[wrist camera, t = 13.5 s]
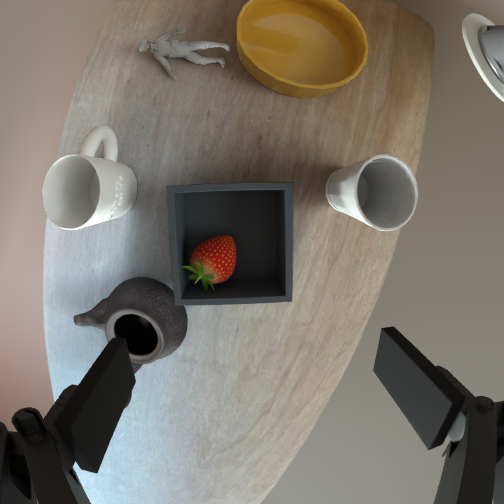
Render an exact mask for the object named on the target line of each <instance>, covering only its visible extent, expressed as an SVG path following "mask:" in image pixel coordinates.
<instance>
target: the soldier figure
mask: <svg viewBox="0 0 504 504" xmlns="http://www.w3.org/2000/svg"><path fill="white" fill-rule="evenodd" d="M183 30H184V31H183ZM182 31H183V32H182ZM185 31H186V29H184V28H177V29H174V30H171V31H169V32H167V33H165V34H164V35H162V36H160V37H158V38H157V39H156V40H155V42H154V43H152V44H151V49H150V50H151V51H152V52H153V57H155V58H156V59H157V60H158V61H159V62H160V63H161V64H162V65H163V67H164V68H165V69H166V71H167V73H169V75H170V76H171V78H173V79H176V78H175V76H176V75H175V74H173V73H172V70H171V68H170V65H169V63H168V61H167V60H166V58H165V57H164V56H168V57H169V58H174V57H180V58H186V59H188V60H190V61H191V62H194V63H196V64H199V65H200V64H204V65H205V64H208V63H213V62H219V63H221V65H222V66H223V67H224V66H225V64H226V61H224V60H225V58H224V57H220V58H210V57H207V58H206V57H201V56H200V55H199V54H197V53H195V52H194V50H198V49H207V48H214V47H223V48H224V49H226V50H227V51H229V50H230V48H231V47H230V46H229V44H227V43H224V44H223V43H217V42H206V41H194V42H187V41H178V40H172V41H170V40H167V39H169V38H170V37H171V36H174V35H176V34H178V33H180V34H182V33H184V32H185ZM182 35H183V34H182ZM149 46H150V42H149V41H147V39H146V37H145V38H144V39H142V40H141V42H140V44H139V52H142V51H146V50H148V49H149ZM174 75H175V76H174Z"/></svg>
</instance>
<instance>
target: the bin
mask: <svg viewBox="0 0 504 504" xmlns="http://www.w3.org/2000/svg"><path fill="white" fill-rule="evenodd" d="M167 204H168V224H169V240H170V254H171V267H172V278H173V288H174V298H175V305H176V306H178V305H228V304H255V303H276V302H292V286H293V182H253V183H216V184H193V185H176V186H167ZM219 235H229V236H231V237H232V238H233V239H234V242H235V245H236V265H235V268H234V271H233V273H232V274H231V276H230V277H229V278H228V279H227V280H225V281H223V282H221V283H212V285H213V287H214V290H213V288H212V287H211V286H210V285H209V284H208V283H207V282H206V283H207V291H206V290H205V289H204V287H203V284H202V281H201V278H200V279H199V280H198V281H197V282H196V280H197V279H198V278H196V279H188V278H189V277H190V276H191V275H192V274H195V273H194V272H193V271H191V270H189V269H186V268H183V267H182V266H190V257H191V254H192V252H193V251H194V249H195V248H196V247H197V246H198V245H199V244H201V243H202V242H204V241H206V240H208V239H210V238H213V237H216V236H219ZM195 282H196V283H195ZM194 283H195V284H194ZM214 291H215V292H214Z"/></svg>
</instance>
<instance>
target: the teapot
mask: <svg viewBox="0 0 504 504" xmlns="http://www.w3.org/2000/svg"><path fill="white" fill-rule="evenodd" d="M187 322H188V318H187V313H186V310H185V307H184V305H178V306H176V305H175V298H174V291H173V290H172V289H171V288H169V287H168V286H167V285H165V284H164V283H162V282H160V281H158V280H155V279H151V278H146V277H138V278H132V279H129V280H126V281H124V282H122V283H121V284H119V285H118V286H117V287H116V288H115V289H114V290H113V292H112V293H111V294H110V296H109V297H108V298H105V299H103V300H101V301H100V302H99V303H98V304H97V305H96V306H95V307H94V308H93V309H91V310H90V311H88V312H86V313H82V314H79V315H76V316H74V323H75V325H77V326H93V327H97V328H99V329H102V330H104V331H105V334H106V338H107V341H108V343H109V341H110V340H111V339H112V338H126V342H127V347H128V351H129V356H130V360H131V364H132V368H133V372H134V374H135V373H136V372H137V371H138V370H139V369H140V367H141V366H142V365H143V364H149V363H152V362H154V361H155V360H157V359H161V358H164V357H166V356H168V355H170V354H172V353H173V352H174V351H175V350H177V348H178V347H179V346H180V345H181V343H182V342H183V340H184V338H185V335H186V332H187ZM131 396H132V392H131V394H130V396H129V398H128V401H127V403H126V405H125V407H124V409H125V408H126V407H127V406H128V404H129V402H130V400H131Z"/></svg>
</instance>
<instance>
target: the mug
mask: <svg viewBox="0 0 504 504" xmlns="http://www.w3.org/2000/svg"><path fill="white" fill-rule="evenodd" d="M101 142H102V144H103V158H98V157H94V155H95V153H96V150H97V148H98V146H99V144H100V143H101ZM117 157H118V144H117V139H116V136H115V134H114V132H113V130H112V129H111V128H110V127H107V126H98V127H95V128H94V129H93V130H92V131H90V133H89V134H88V135H87V136H86V137H85V139H84V141H83V143H82V145H81V147H80V150H79V153H72V154H67V155H65V156H63V157H61V158H59V159H58V160H57V161H56V162H55V163H53V165H52V166H51V167H50V168H49V170H48V172H47V174H46V176H45V179H44V182H43V188H42V200H43V205H44V209H45V211H46V213H47V215H48V217H49V218H50V220H51V221H52V222H53V223H54V224H56V225H57V226H59V227H60V228H63V229H66V230H76V229H80V228H83V227H87V226H90V225H93V224H97V223H100V222H103V221H107V220H111V219H114V218H118V217H120V216H122V215H124V214H126V213H127V212H128V211H129V210H130V209H131V207H132V206H133V204H134V202H135V200H136V197H137V190H138V186H137V180H136V177H135V175H134V173H133V171H132V170H131V169H130V168H129V167H128V166H127V165H125V164H123V163H121V162H117Z"/></svg>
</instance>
